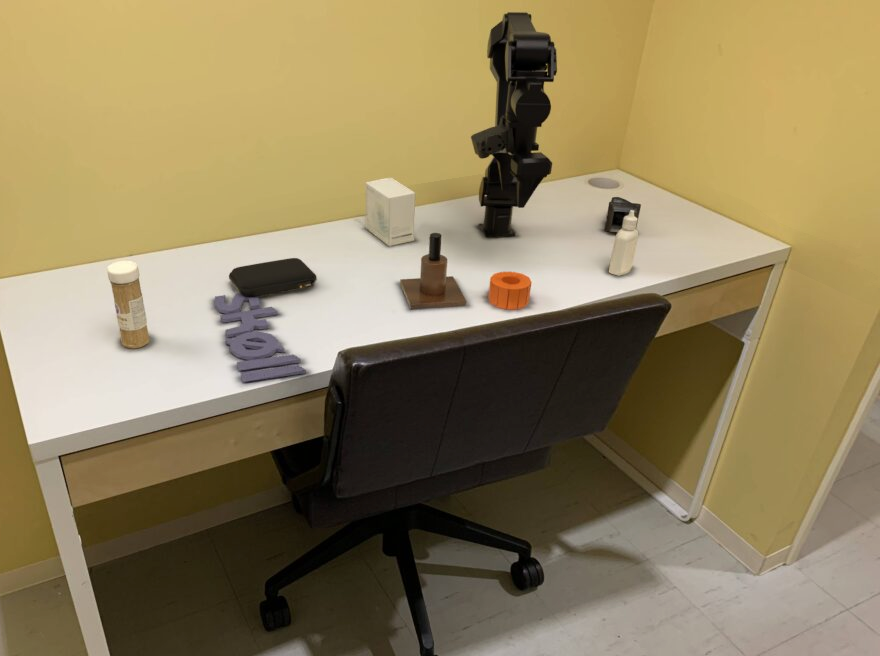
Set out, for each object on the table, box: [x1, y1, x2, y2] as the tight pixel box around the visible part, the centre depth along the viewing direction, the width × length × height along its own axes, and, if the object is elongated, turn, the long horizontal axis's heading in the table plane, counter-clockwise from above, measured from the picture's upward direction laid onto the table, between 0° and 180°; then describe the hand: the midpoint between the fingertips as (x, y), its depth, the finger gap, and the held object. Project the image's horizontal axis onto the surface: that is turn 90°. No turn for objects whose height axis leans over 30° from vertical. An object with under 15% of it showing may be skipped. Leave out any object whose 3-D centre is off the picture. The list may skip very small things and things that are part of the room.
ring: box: [487, 271, 532, 310], centre depth 135 cm, size 7×7×4 cm
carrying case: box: [228, 257, 317, 298], centre depth 139 cm, size 11×3×15 cm
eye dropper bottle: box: [608, 210, 639, 277], centre depth 144 cm, size 4×6×12 cm
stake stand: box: [399, 232, 467, 310], centre depth 135 cm, size 10×10×12 cm
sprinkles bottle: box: [106, 260, 151, 349], centre depth 119 cm, size 5×5×14 cm
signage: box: [214, 292, 307, 383], centre depth 125 cm, size 28×1×10 cm
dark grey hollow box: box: [604, 196, 642, 233], centre depth 164 cm, size 6×13×6 cm, turn 170°
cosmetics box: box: [365, 176, 417, 247], centre depth 158 cm, size 10×6×10 cm, turn 27°
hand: (512, 199), depth 142 cm, fingers open, 9 cm apart
